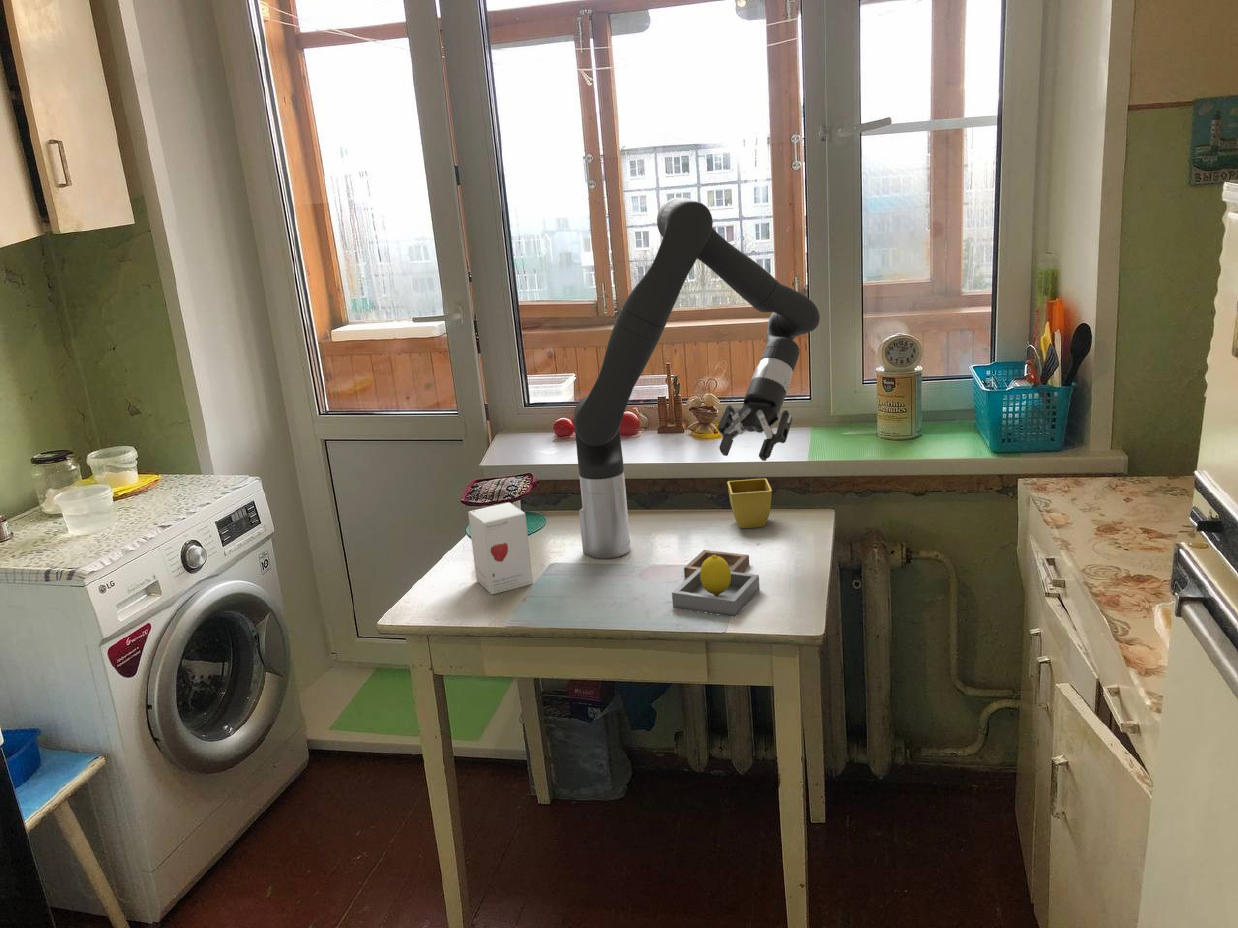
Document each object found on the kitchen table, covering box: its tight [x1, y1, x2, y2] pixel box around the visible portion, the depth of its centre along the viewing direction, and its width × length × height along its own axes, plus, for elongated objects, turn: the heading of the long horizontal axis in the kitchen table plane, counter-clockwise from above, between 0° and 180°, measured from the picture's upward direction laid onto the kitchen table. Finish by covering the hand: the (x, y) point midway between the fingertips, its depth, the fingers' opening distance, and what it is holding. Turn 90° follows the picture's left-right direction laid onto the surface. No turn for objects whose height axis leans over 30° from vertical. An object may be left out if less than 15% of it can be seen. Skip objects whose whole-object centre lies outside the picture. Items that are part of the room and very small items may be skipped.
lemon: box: [700, 555, 731, 596], centre depth 174 cm, size 6×6×8 cm
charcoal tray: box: [671, 568, 760, 618], centre depth 175 cm, size 12×12×3 cm
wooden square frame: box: [683, 549, 750, 579], centre depth 187 cm, size 10×10×2 cm
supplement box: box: [467, 502, 534, 596], centre depth 189 cm, size 9×9×15 cm
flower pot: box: [727, 478, 773, 529], centre depth 210 cm, size 9×9×9 cm
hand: (742, 456), depth 187 cm, fingers open, 8 cm apart
